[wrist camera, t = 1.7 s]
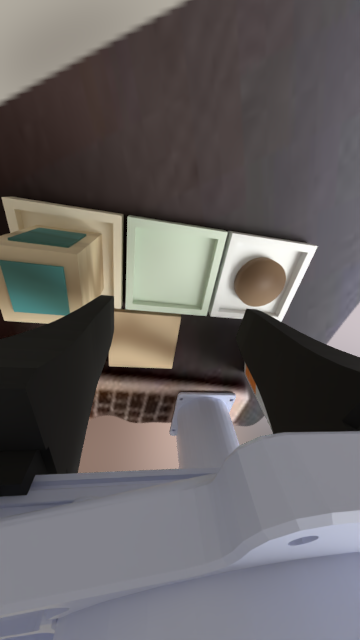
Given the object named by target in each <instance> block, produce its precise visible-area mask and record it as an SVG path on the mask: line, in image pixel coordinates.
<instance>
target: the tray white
mask: <svg viewBox="0 0 360 640" xmlns="http://www.w3.org/2000/svg"><path fill="white" fill-rule="evenodd" d="M317 247H318V246H315V245H312V244H309V243H304V242H298V241H291V240H285V239H278V238H272V237H266V236H259V235H253V234H247V233H240V232H234V231H228V234H227V238H226V241H225V245H224V249H223V253H222V257H221V261H220V265H219V269H218V273H217V277H216V281H215V284H214V288H213V292H212V296H211V300H210V304H209V308H208V312H209V314H210V316H212V317H224V318H236V319H243V317H244V314H245V311H246V308H247V309H257V310H259V311H262V312H264V313H266V314H268V315H270V316H272V317H273V318H275V319H277V320H279V321H280V322H282V320H283V317H284V315H285V313H286V311H287V309H288V307H289V305H290V303H291V301H292V299H293V297H294V295H295V292H296V290H297V288H298V286H299V284H300V282H301V280H302V278H303V276H304V274H305V272H306V270H307V267H308V265H309V263H310V261H311V259H312V257H313V255H314V253H315V251H316V249H317ZM259 257H266V258H270V259H272V260H274V261H275V262H277V263H279V264H280V265H281V266H282V267H283V269H284V270H285V274H286V282H285V286H284V288H283V290H282V292H281V293H280V294H279V296H278V297H277V298H276V299H274V300H273V301H272V302H270V303H268V304H266V305H263V306H259V307H253V306H248V305H246V304H245V303H243V302H242V301H241V300H240V298H239V297H238V296H237V294H236V293H235V290H234V280H235V277H236V274H237V273H238V271H239V270H240V268H241V267H242V266H243V265H244V264H245V263H247V262H248V261H250V260H252V259H255V258H259Z"/></svg>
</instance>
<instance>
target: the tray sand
mask: <svg viewBox="0 0 360 640" xmlns="http://www.w3.org/2000/svg"><path fill="white" fill-rule="evenodd" d="M1 198H2V202H3V206H4V210H5V214H6V218H7V222H8V225H9V229H10V233H12V232H15V231H19V230H22V229H25V228H29V227H32V226H35V225H42V226H49V227H56V228H63V229H71V230H78V231H85V232H92V233H99V234H102V250H103V276H104V289H103V291H102V293H101V295H108V296H114V308H116V309H121V307H122V303H123V239H124V214H120V213H114V212H107V211H101V210H95V209H88V208H82V207H75V206H69V205H63V204H56V203H50V202H44V201H37V200H31V199H25V198H18V197H1Z"/></svg>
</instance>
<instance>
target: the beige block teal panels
mask: <svg viewBox="0 0 360 640" xmlns="http://www.w3.org/2000/svg"><path fill="white" fill-rule="evenodd" d="M103 289H104V276H103V250H102V234H99V233H92V232H85V231H78V230H71V229H63V228H56V227H49V226H42V225H35V226H32V227H29V228H25V229H22V230H19V231H15V232H12V233H9V234H5V235H2V236H0V309H1V312H2V315H3V318H4V321H18V322H33V323H47V324H49V323H51V322H53V321H56V320H58V319H60V318H62V317H64V316H66V315H68V314H70V313H71V312H73V311H75V310H77V309H79V308H80V307H82V306H84V305H85V304H87V303H89V302H90V301H92V300H93V299H95V298H97V297H98V296H100V295H101V293H102V291H103Z"/></svg>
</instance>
